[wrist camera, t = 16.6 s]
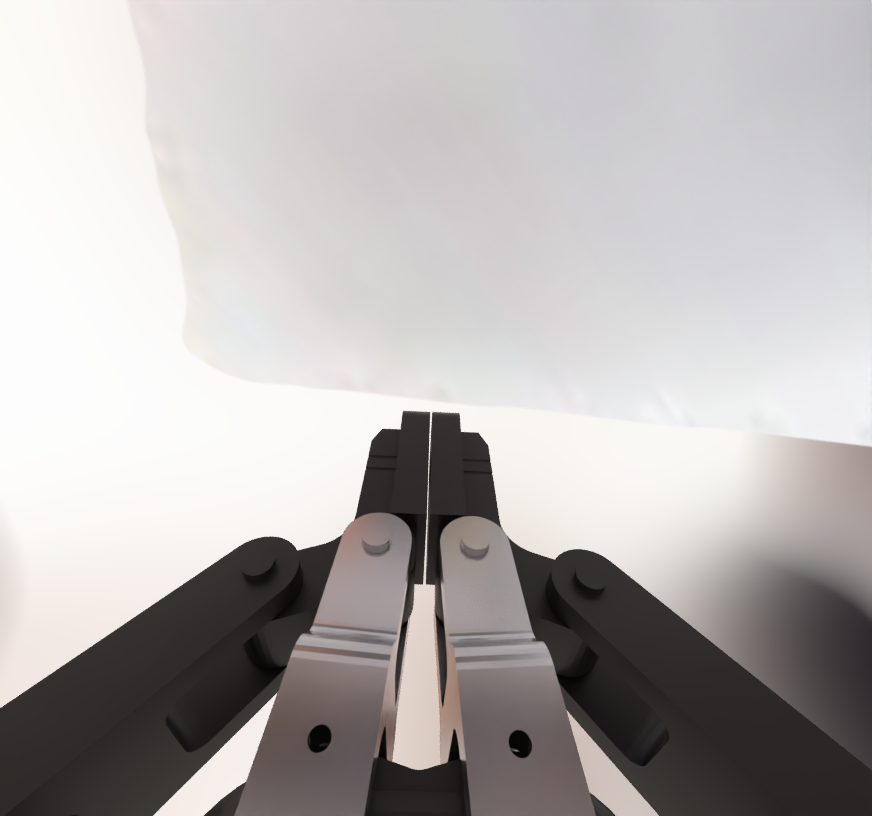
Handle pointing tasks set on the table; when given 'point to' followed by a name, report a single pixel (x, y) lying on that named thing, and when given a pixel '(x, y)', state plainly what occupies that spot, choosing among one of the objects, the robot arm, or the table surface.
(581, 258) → the table surface
